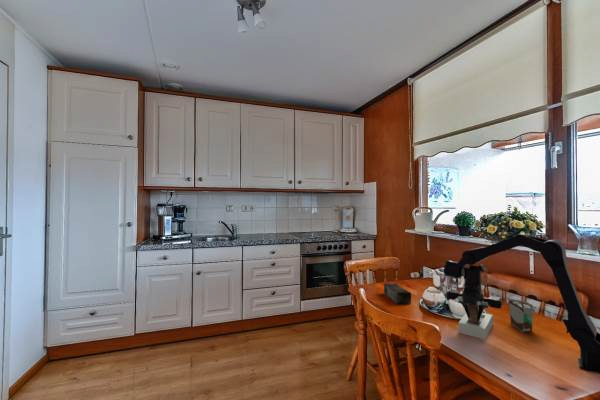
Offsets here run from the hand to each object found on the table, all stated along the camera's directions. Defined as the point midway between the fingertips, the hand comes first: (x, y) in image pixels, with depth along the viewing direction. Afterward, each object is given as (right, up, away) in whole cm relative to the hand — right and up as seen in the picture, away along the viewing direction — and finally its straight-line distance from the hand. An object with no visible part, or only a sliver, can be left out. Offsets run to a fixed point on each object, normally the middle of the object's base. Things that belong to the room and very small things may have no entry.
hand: (473, 319), depth 113 cm
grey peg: (+6, -5, +7) cm, 10 cm away
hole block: (+3, -5, +3) cm, 7 cm away
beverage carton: (-17, -7, +42) cm, 46 cm away
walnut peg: (0, -4, 0) cm, 4 cm away
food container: (+23, -5, +3) cm, 24 cm away
